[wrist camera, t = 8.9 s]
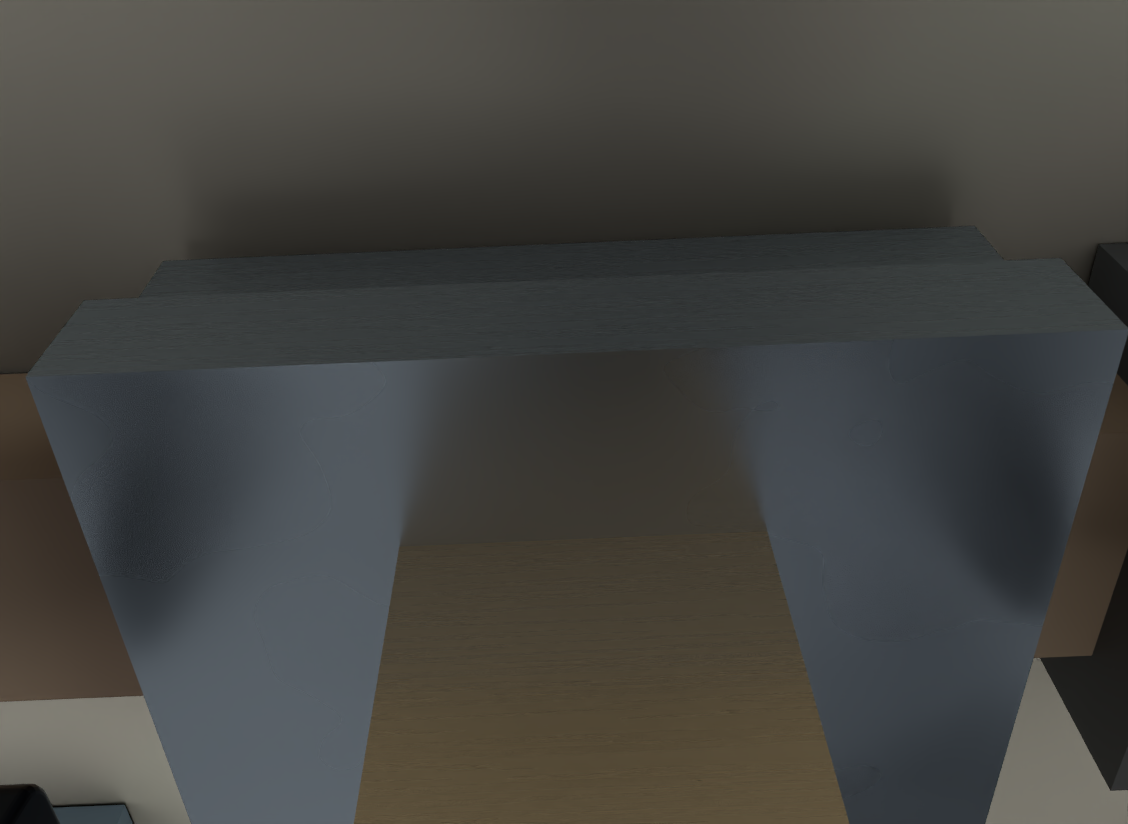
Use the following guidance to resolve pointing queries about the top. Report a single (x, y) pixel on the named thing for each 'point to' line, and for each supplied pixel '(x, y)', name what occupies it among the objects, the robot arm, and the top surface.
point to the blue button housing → (93, 815)
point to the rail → (103, 669)
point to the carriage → (586, 522)
